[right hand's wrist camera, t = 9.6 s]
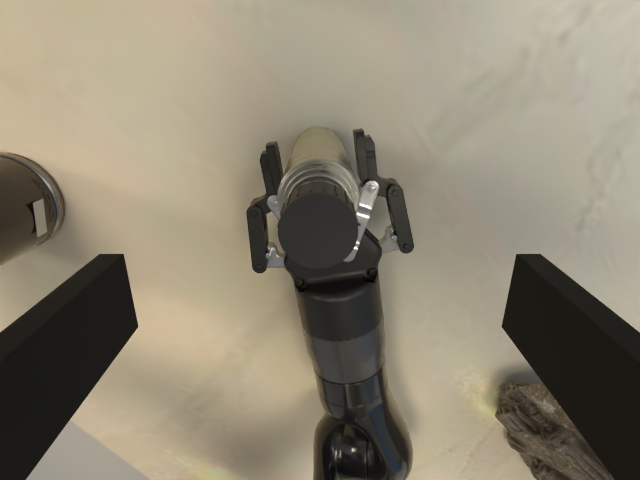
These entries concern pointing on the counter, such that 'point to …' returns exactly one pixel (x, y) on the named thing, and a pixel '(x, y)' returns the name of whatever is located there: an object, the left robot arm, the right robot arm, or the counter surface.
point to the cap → (318, 225)
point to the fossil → (546, 435)
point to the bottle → (318, 165)
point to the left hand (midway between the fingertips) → (314, 137)
